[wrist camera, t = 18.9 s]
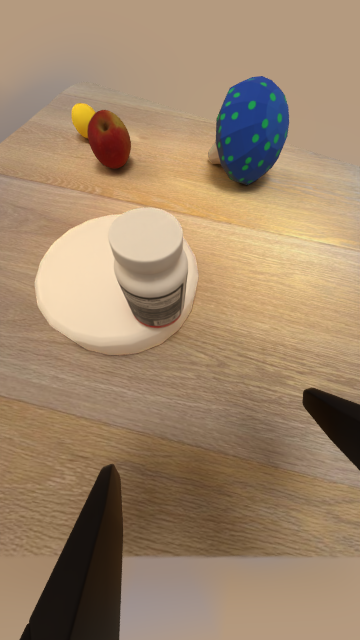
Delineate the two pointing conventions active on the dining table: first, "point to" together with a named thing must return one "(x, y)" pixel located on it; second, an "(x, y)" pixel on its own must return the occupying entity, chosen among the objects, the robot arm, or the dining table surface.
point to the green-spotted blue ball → (250, 129)
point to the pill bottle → (150, 264)
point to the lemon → (82, 118)
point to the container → (97, 293)
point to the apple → (109, 139)
